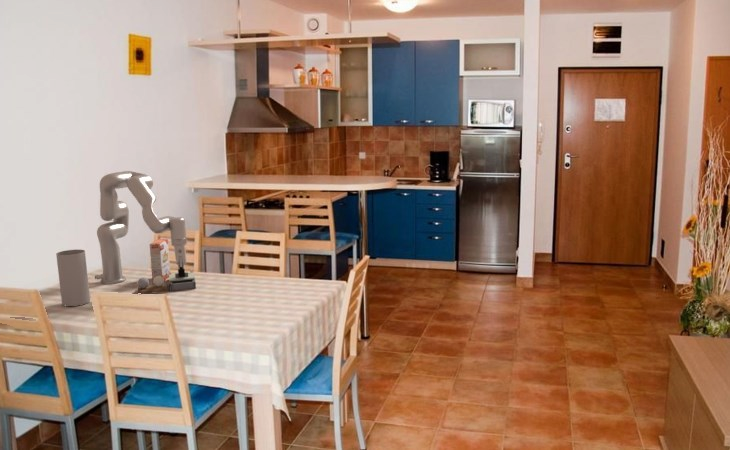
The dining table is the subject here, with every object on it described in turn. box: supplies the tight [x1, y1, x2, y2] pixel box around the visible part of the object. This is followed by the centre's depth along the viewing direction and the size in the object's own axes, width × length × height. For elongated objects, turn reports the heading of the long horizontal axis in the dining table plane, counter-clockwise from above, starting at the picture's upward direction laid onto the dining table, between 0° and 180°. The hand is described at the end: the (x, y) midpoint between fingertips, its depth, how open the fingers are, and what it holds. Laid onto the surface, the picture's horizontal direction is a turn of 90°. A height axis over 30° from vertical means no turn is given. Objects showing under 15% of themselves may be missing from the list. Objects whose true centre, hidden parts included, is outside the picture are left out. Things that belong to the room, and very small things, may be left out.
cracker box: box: [149, 238, 171, 282], centre depth 367 cm, size 14×6×21 cm, turn 179°
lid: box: [168, 271, 196, 282], centre depth 356 cm, size 12×12×3 cm
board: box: [136, 283, 168, 295], centre depth 347 cm, size 14×10×2 cm
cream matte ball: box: [152, 276, 166, 287], centre depth 347 cm, size 6×6×6 cm
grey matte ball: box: [137, 277, 150, 289], centre depth 345 cm, size 6×6×6 cm
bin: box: [168, 270, 197, 292], centre depth 357 cm, size 12×25×4 cm, turn 17°
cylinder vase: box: [55, 249, 91, 307], centre depth 326 cm, size 12×12×25 cm
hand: (181, 276), depth 352 cm, fingers closed
